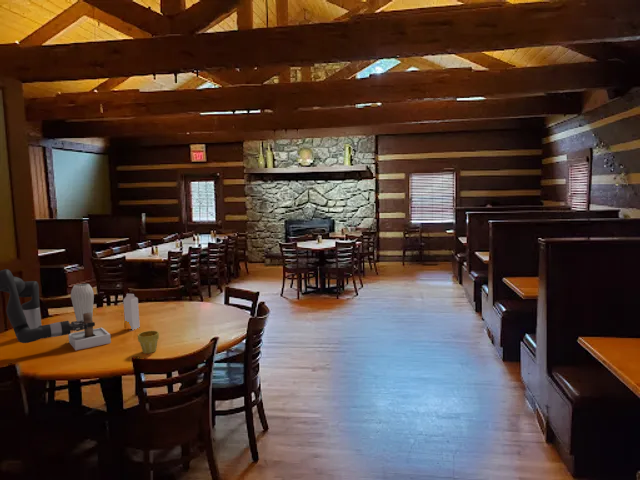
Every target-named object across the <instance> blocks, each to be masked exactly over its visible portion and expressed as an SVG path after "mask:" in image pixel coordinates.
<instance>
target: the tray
mask: <svg viewBox="0 0 640 480" xmlns="http://www.w3.org/2000/svg"><path fill="white" fill-rule="evenodd" d="M93 335H94V336H93V337H88V338H85V331H84V330H80V331H76V332H75V331H74V332H71V333H70V334H68V335H67V336H68V342H69V344H70V345H71V347H72V348H73V349H74V350H75V351H79V350H83V349H84V350H85V349H89V348H93V347H94V348H95V347H97V346H98V347H99V346H102V345H108V344H111V343H112V340H111V337H112V336H111V333H110V332H108V330H106V329H105V328H103V327H98V328H93Z"/></svg>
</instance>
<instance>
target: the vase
mask: <svg viewBox="0 0 640 480" xmlns="http://www.w3.org/2000/svg"><path fill="white" fill-rule="evenodd" d="M94 298H95V292H94V289H93V287H92V286H91V285H90V283H81V284H74V285H73V287H72V288H71V291H70V300H71V303H72V309H73V311H74V315H75V320H76V321H84V319H83V314H84V313H92V317H93V316H94V315H93V312H94ZM83 327H84V326H83Z"/></svg>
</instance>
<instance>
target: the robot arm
mask: <svg viewBox="0 0 640 480" xmlns="http://www.w3.org/2000/svg"><path fill="white" fill-rule="evenodd" d="M0 292H4V293H7V294H9V298H8V301H7V305H6V315H7V319H8V320H9V322H10V324H11V326H12V329H13V332H14V334H15V337H16V340H17V341H18V342H19V343H20V344H21V343H22V344H28V343H33V342H36V341H39V340H42V339H49V338H55V337H61V336H68V334H70V333H72V332H71V331H74V332H75V331H76V332H81V331H84V329H87V328H88V327H92V326H93V327H95V326H96V324H95V323H96V322H94V321H93V320H92V322H91V323H84V321H77V320H76V321H75V320H74V321H71V323H70V321H69V320H64V321H58V322H54V323H49V324H42V316H41V307H40V286H39V282H38V281H36V280H30V281H24V280H23V279H22V278H20V277H17V276H14V275H13V273H12V271H11V270H10V269H7V268H5V269H2V270H0ZM20 298H31V299H30V300H29V301H27V302H24V303H22V304H21V301H20ZM83 326H85V327H83Z"/></svg>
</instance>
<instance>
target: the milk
mask: <svg viewBox="0 0 640 480" xmlns="http://www.w3.org/2000/svg"><path fill="white" fill-rule="evenodd" d="M122 301H123V312H124V322H125V321H127V322H129V324H130V326H131V329H132V330H131V331H135V330H137V328H138V329H140V328H141V327H140V326H141V325H140V324H141V323H140V310H139V298H138V297H137V296H135V294H134V293H126V295H125V297H124V298H123V299H122ZM139 327H140V328H139ZM134 329H135V330H134Z"/></svg>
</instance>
